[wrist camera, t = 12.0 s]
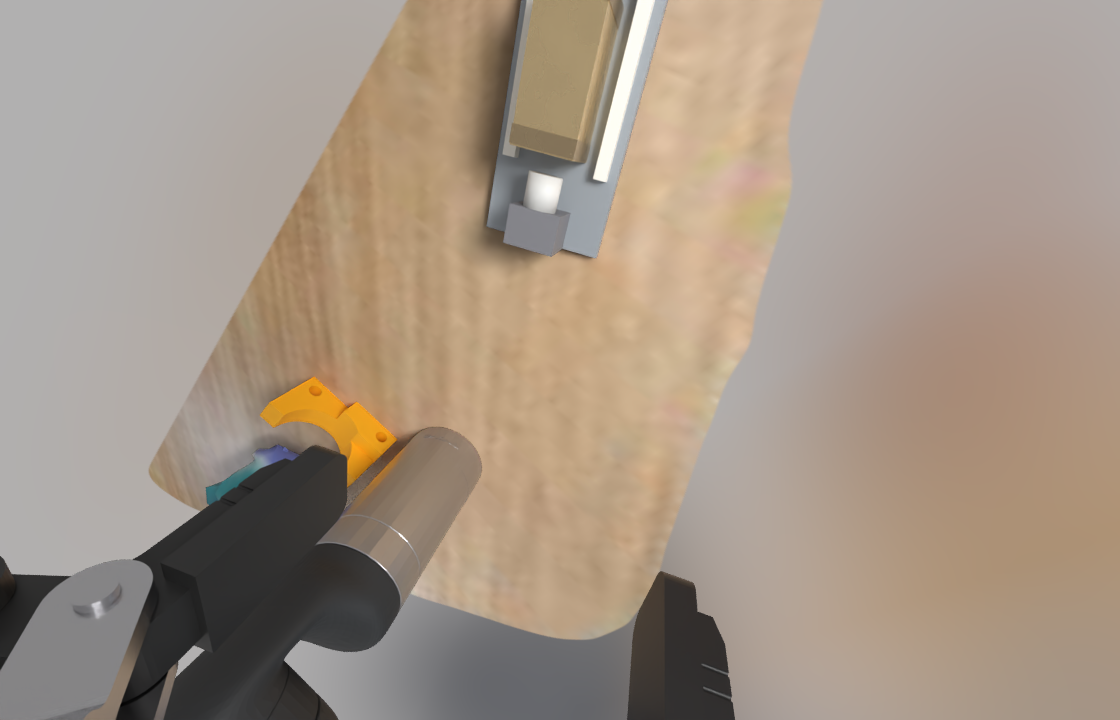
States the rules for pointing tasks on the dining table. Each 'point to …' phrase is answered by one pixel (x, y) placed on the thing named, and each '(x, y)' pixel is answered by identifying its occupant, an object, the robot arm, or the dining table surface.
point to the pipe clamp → (333, 423)
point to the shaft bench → (562, 185)
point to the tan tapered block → (564, 75)
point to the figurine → (249, 470)
